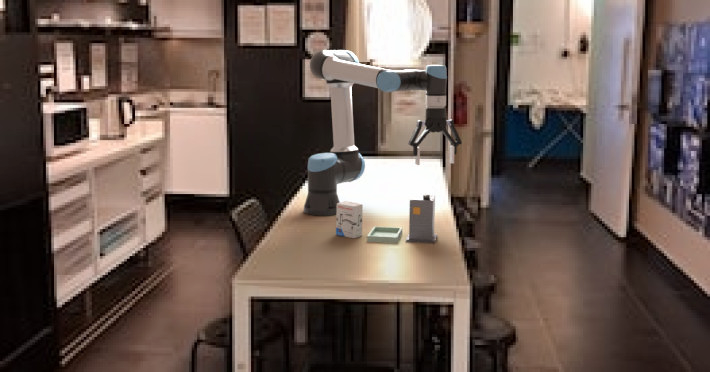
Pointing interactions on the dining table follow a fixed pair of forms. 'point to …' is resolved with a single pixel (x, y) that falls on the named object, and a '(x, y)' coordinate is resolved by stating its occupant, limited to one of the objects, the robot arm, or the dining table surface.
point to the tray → (384, 234)
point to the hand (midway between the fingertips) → (434, 163)
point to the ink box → (349, 219)
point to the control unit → (422, 219)
